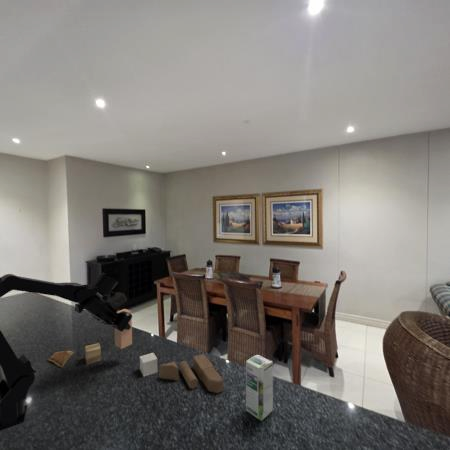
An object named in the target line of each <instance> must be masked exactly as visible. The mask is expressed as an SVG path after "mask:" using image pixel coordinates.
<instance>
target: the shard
mask: <svg viewBox="0 0 450 450" xmlns="http://www.w3.org/2000/svg"><path fill="white" fill-rule="evenodd" d="M73 353H74V352H73V351H72V350H63V351H61V350H60V351H56V352H54V354H53V355H51V356H50V357H48V358H47V360H48V361H49V362H52V363H53V364H55V365H56V366H57V367H59V368H63V367H64V366H65V364H66V363H67V361H68V360H69V358H70V357H71V356H72V355H73Z"/></svg>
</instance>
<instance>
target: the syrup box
mask: <svg viewBox="0 0 450 450" xmlns="http://www.w3.org/2000/svg"><path fill="white" fill-rule="evenodd" d="M273 362H274V361H273V360H270V359H268V358H265V357H264V356H262V355H259V354H256V355H253V356H252V357H250V358H249V359H247V360H246V361H245V381H246V382H245V384H246V385H245V390H246V391H245V399H246V400H245V401H246V403H245V404H246V405H245V406H246V407H245V410H246V412H248V413H249V414H250V415H252V416H254V417H255V418H256V419H258V420H259V421H261V422H262V421H263V420H264V419H265V418H267V416H269V415H270V413H272V412H273V410H274V401H273V400H274V397H273V395H274V393H273V392H274V388H273V387H274V380H273V379H274V378H273V375H274V372H273V370H274V369H273V368H274V363H273Z"/></svg>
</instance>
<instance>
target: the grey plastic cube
mask: <svg viewBox="0 0 450 450" xmlns="http://www.w3.org/2000/svg"><path fill="white" fill-rule="evenodd" d="M139 371H140V372H141V375H142V376H143V377H148V376H149V375H153V374H155V373H159V368H158V358H157V356H156V355H155V353H154V352H151V353H147V354H144V355H140V356H139Z"/></svg>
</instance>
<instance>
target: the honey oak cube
mask: <svg viewBox="0 0 450 450" xmlns="http://www.w3.org/2000/svg"><path fill="white" fill-rule="evenodd" d="M84 347H85V349H84V351H85V352H84V353H85V354H84V355H85V363H86V365H90V364H93V363H97V362H100V361H102V353H101V352H102V351H101V350H102V349H101V345H100V342H98V343H93V344H90V345H86V346H84Z"/></svg>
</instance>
